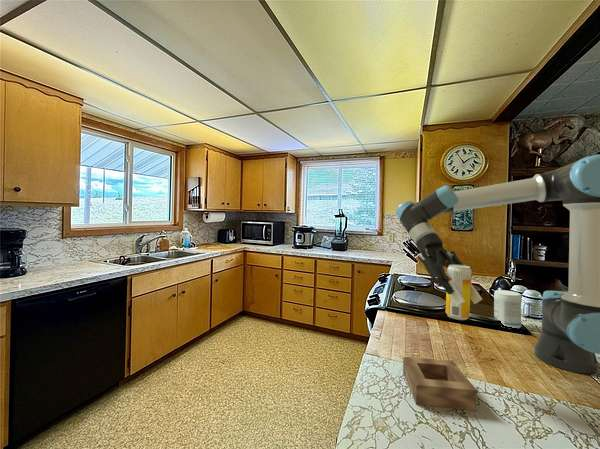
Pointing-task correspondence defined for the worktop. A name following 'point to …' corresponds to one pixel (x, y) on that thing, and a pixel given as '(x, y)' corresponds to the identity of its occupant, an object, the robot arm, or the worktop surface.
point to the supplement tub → (508, 308)
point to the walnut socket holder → (439, 383)
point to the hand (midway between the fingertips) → (469, 302)
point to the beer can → (463, 284)
